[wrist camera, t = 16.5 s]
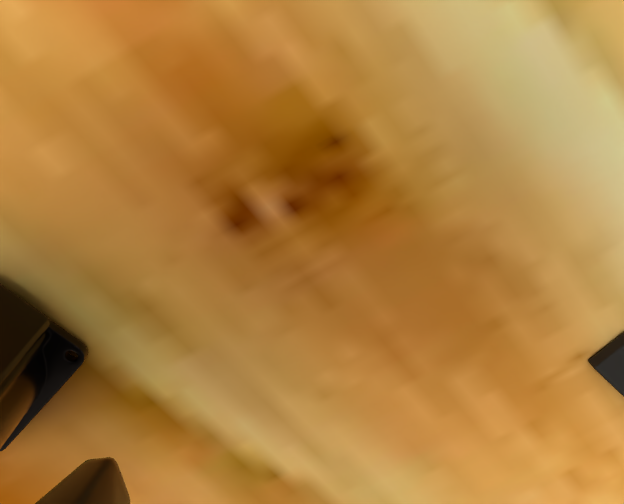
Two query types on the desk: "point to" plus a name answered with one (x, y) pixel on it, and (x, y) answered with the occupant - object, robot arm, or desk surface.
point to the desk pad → (611, 363)
